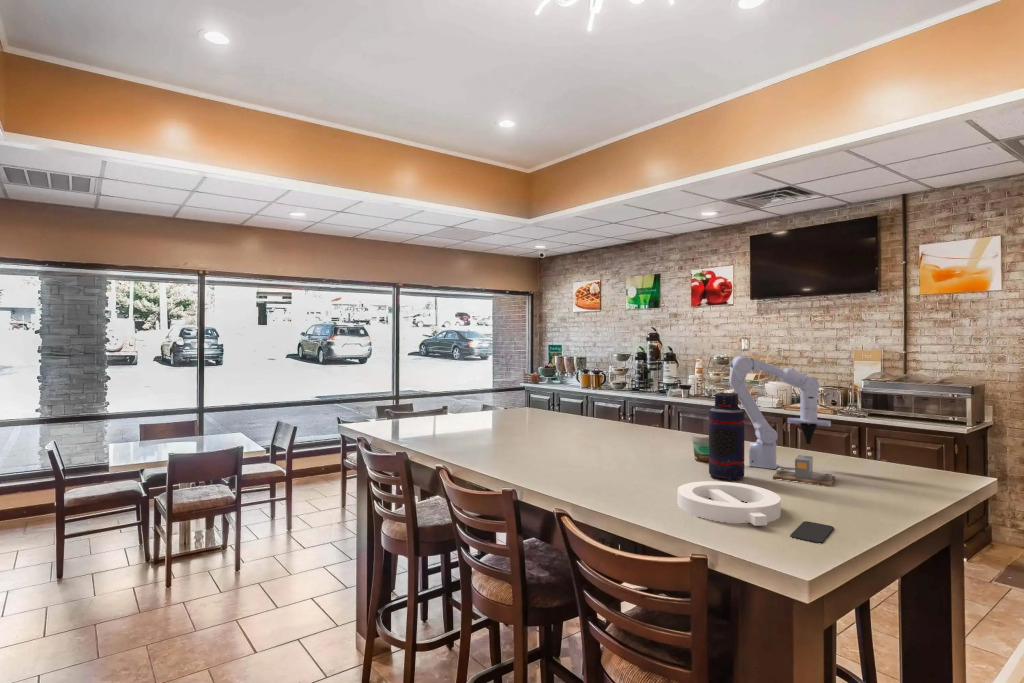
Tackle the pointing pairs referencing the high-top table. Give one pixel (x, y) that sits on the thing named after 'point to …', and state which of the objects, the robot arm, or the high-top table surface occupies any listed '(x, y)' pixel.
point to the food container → (701, 449)
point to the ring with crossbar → (729, 502)
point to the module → (803, 466)
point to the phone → (812, 532)
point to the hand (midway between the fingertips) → (808, 443)
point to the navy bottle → (726, 437)
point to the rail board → (814, 479)
